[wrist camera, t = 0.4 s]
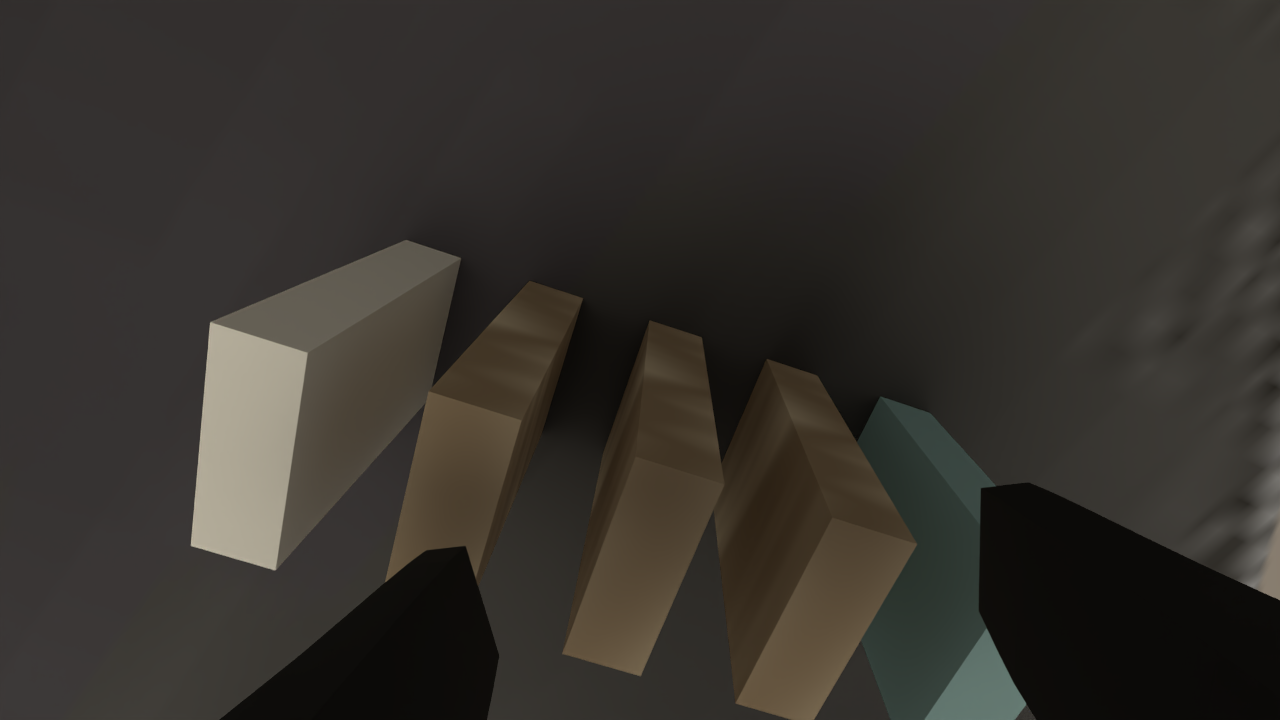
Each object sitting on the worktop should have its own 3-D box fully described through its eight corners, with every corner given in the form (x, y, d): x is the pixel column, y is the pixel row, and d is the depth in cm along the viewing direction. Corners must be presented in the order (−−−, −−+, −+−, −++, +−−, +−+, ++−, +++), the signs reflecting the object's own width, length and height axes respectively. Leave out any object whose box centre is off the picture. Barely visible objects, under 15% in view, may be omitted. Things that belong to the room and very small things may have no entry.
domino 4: (817, 375, 18) (917, 544, 11) (758, 502, 20) (810, 725, 13) (766, 358, 18) (832, 517, 11) (711, 487, 20) (735, 703, 12)
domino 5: (929, 412, 19) (1102, 603, 11) (862, 534, 20) (974, 772, 13) (880, 396, 19) (1020, 577, 11) (817, 520, 20) (902, 752, 13)
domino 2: (583, 298, 18) (521, 420, 11) (541, 434, 20) (462, 624, 12) (529, 280, 18) (428, 391, 10) (492, 418, 19) (381, 601, 12)
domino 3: (701, 337, 18) (724, 484, 11) (651, 468, 20) (640, 676, 12) (649, 320, 18) (635, 456, 11) (603, 453, 20) (562, 653, 12)
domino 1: (461, 257, 18) (307, 353, 10) (428, 399, 19) (275, 570, 12) (406, 239, 18) (210, 322, 10) (378, 383, 19) (190, 545, 12)
